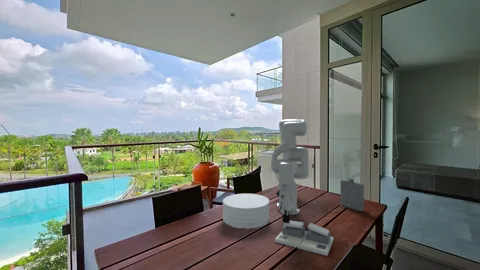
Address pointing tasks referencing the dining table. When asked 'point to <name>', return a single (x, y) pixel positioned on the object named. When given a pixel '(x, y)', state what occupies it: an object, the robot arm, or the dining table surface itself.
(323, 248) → the panel
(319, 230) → the right switch
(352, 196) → the hip flask
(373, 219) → the dining table surface
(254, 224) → the plate stack
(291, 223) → the left switch
